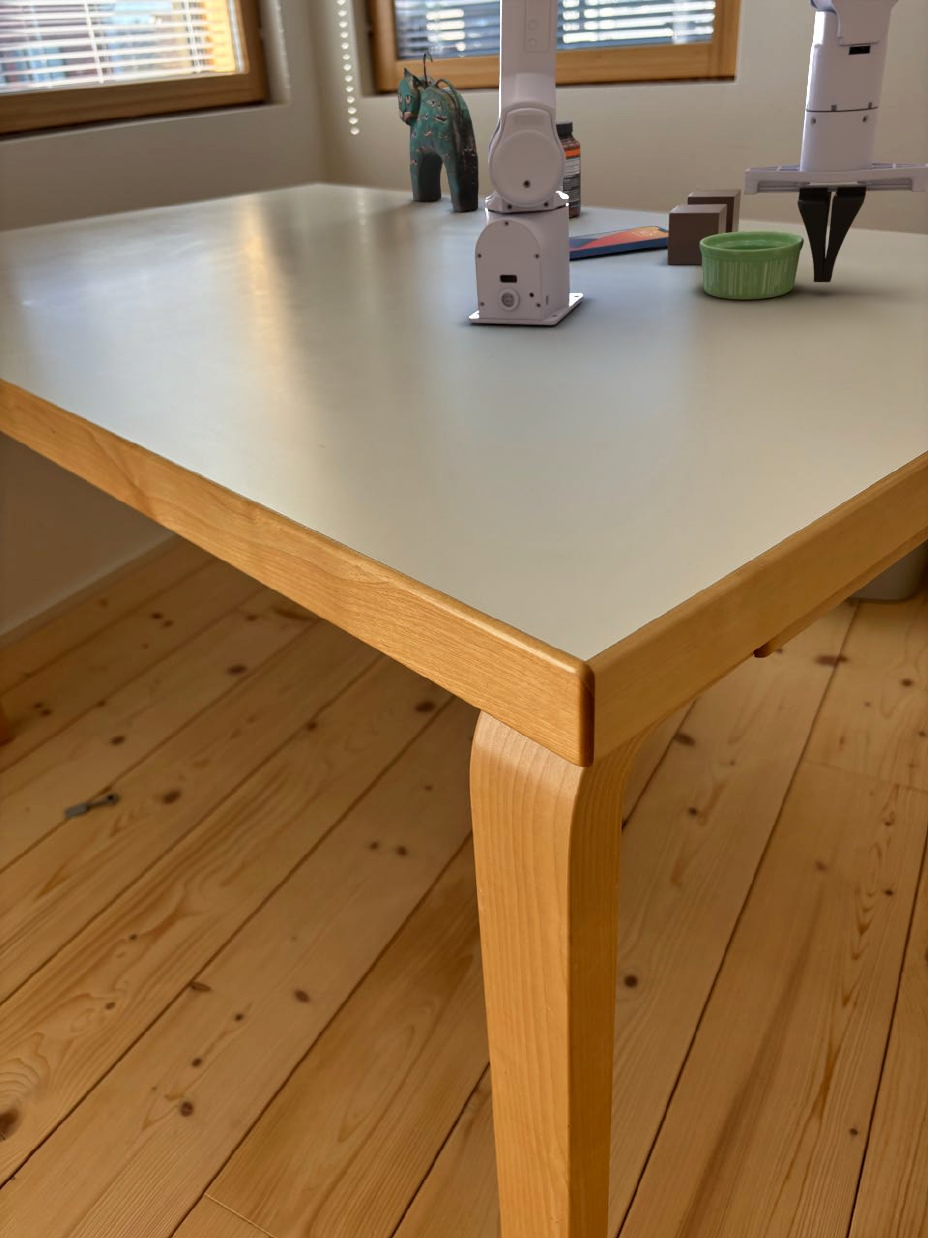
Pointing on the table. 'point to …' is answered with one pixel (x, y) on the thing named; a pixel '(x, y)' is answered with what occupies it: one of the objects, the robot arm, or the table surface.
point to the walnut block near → (693, 231)
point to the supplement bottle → (570, 166)
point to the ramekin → (750, 264)
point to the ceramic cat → (439, 139)
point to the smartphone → (617, 241)
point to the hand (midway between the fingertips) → (822, 279)
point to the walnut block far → (720, 197)
